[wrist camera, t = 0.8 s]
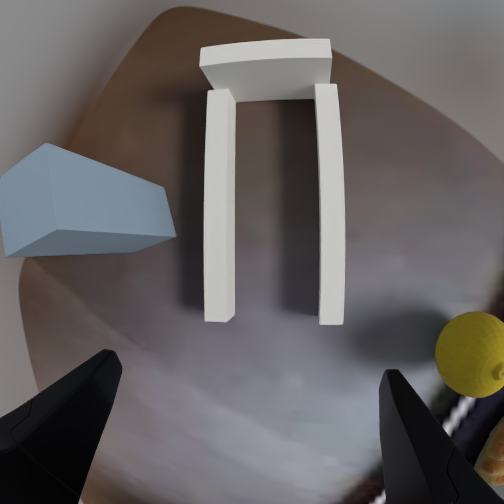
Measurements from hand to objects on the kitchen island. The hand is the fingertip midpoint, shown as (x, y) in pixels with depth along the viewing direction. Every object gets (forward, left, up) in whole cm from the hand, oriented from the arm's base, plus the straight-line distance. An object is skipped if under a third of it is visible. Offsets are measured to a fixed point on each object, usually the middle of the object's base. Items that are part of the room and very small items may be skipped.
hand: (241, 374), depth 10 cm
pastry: (-1, -27, -14) cm, 30 cm away
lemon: (+4, -13, -14) cm, 20 cm away
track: (+6, +4, -13) cm, 15 cm away
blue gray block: (0, +12, -13) cm, 18 cm away
